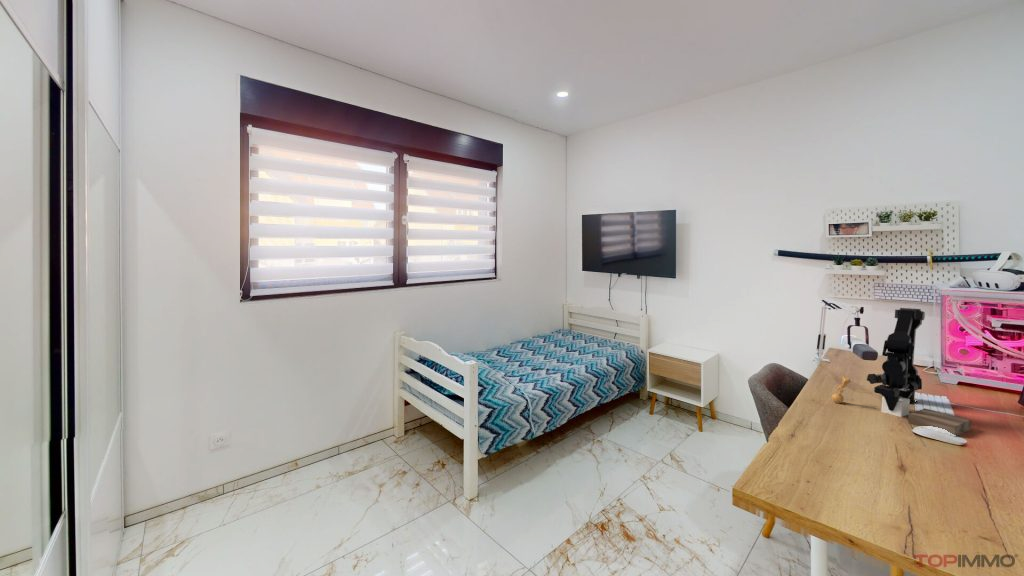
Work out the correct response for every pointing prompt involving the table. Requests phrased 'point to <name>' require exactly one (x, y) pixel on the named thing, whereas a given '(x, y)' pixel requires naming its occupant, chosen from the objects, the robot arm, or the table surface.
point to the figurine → (837, 396)
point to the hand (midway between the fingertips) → (895, 409)
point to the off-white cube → (897, 407)
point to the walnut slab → (940, 421)
